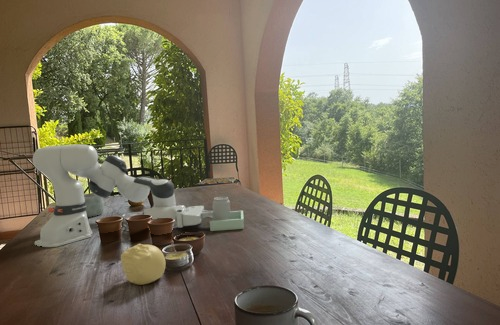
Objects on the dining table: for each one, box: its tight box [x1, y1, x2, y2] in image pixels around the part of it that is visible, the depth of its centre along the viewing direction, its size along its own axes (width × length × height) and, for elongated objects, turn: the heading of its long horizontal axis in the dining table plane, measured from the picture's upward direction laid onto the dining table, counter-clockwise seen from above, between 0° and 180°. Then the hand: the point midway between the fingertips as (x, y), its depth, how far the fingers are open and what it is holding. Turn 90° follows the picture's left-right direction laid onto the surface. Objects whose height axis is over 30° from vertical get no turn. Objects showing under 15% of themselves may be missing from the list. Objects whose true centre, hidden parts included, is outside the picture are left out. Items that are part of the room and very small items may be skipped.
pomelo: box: [120, 243, 167, 286], centre depth 114 cm, size 11×12×11 cm
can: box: [212, 196, 231, 221], centre depth 170 cm, size 8×8×12 cm
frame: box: [209, 210, 245, 232], centre depth 170 cm, size 14×16×4 cm
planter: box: [84, 192, 105, 218], centre depth 207 cm, size 12×12×11 cm
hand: (212, 213), depth 170 cm, fingers closed, pressing on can
